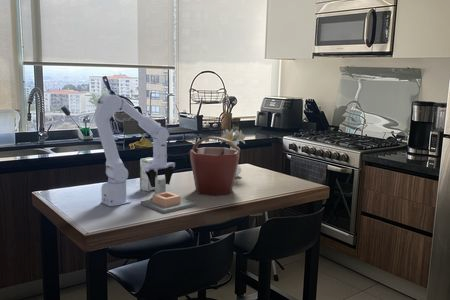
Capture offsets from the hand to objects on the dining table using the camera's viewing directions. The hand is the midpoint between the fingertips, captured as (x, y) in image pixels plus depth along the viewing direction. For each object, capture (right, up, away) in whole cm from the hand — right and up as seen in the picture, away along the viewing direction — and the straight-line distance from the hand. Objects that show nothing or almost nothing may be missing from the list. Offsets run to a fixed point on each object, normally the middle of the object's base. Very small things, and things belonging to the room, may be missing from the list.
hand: (160, 185), depth 194 cm
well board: (+4, -7, -13) cm, 15 cm away
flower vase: (+32, +1, +44) cm, 54 cm away
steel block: (0, -5, +1) cm, 5 cm away
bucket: (+23, -4, +11) cm, 26 cm away
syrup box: (-7, -3, +12) cm, 14 cm away
